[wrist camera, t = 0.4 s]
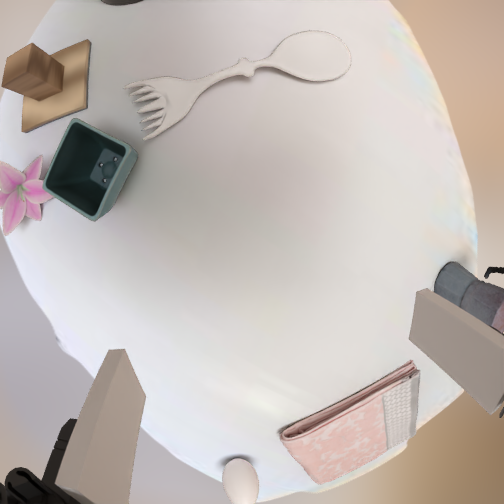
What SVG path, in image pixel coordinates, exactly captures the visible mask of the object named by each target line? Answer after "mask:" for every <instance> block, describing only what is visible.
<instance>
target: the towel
mask: <svg viewBox="0 0 504 504" xmlns="http://www.w3.org/2000/svg"><path fill="white" fill-rule="evenodd" d="M419 383H420V370H417V368H416V366H415V365H414V363H413V360H410V361H408V362H407V363H405V364H404V365H402V366H401V367H399V368H398V369H396V370H395V371H393V372H392V373H390V374H389V375H387V376H386V377H384V378H382V379H381V380H379V381H377V382H376V383H374V384H372V385H371V386H369V387H367V388H366V389H364V390H362V391H360V392H359V393H357V394H355V395H353V396H351V397H349V398H347V399H345V400H343V401H341V402H339V403H337V404H335V405H333V406H331V407H329V408H327V409H325V410H323V411H321V412H319V413H316V414H314V415H312V416H309V417H307V418H305V419H303V420H301V421H299V422H297V423H295V424H294V425H292V426H291V427H289V428H287V429H286V430H284V431H283V432H282V433H281V434H280V440H281V442H282V443H283V445H284V446H285V447H286V448H287V449H288V452H289V453H290V454H291V455H292V457H293V458H294V459H295V460H296V461H297V462H298V463H299V464H301V466H302V467H303V468H304V470H305V471H306V472H307V474H308V475H309V476H310V477H311V479H312V480H313V481H315V483H317V484H323V483H325V482H330V481H332V480H335V479H336V478H339V477H341V476H343V475H345V474H347V473H349V472H351V471H353V470H355V469H357V468H359V467H361V466H363V465H365V464H366V463H368V462H370V461H372V460H374V459H376V458H377V457H379V456H380V455H382V454H383V453H385V452H386V451H387V450H389V449H391V448H393V447H394V446H396V445H398V444H400V443H402V442H404V441H405V440H407V439H409V438H411V437H413V436H414V435H416V419H417V413H418V393H419Z"/></svg>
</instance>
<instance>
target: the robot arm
mask: <svg viewBox="0 0 504 504" xmlns="http://www.w3.org/2000/svg"><path fill="white" fill-rule="evenodd" d="M101 1H102V2H104V3H107V4H111V5H124V4H130V3H135V2H139V1H142V0H101ZM409 340H410V341H411V342H412V343H413V344H415V345H416V346H417V347H418V348H419V349H420V350H421V351H422V352H424V353H425V354H426V355H427V356H428V357H429V358H430V359H431V360H433V361H434V362H435V363H436V364H437V365H438V366H439V367H440V368H441V369H442V370H444V371H445V372H446V373H447V374H448V375H449V376H450V377H451V378H452V379H453V380H454V381H455V382H457V383H458V384H459V385H460V386H461V387H462V388H463V389H464V390H465V391H466V392H467V393H468V394H469V395H470V396H472V398H474V399H475V400H476V401H477V402H478V403H479V404H480V405H481V406H482V407H483V408H484V409H485V410H486V411H487V412H488V413H489V414H490V415H491V414H492V413H494V412H495V411H496V410H497V409H498V408H499V407H500V406H501V404H502V402H503V401H504V334H503V333H502V334H501V332H500V331H499V330H497V329H496V328H494V327H492V326H489V325H486V324H485V323H483V322H482V321H480V320H479V319H477V318H476V317H474V316H472V315H471V314H469V313H468V312H466V311H464V310H463V309H461V308H459V307H458V306H456V305H455V304H453V303H451V302H450V301H448V300H446V299H445V298H443V297H441V296H440V295H438V294H436V293H434V292H433V291H431V290H429V289H428V288H426V289H423V290H420V291H417V292H416V299H415V306H414V313H413V319H412V324H411V330H410V335H409ZM145 399H146V395H145V393H144V391H143V389H142V387H141V385H140V383H139V380H138V378H137V376H136V374H135V372H134V369H133V367H132V365H131V362H130V360H129V358H128V355H127V353H126V350H125V349H116V350H109V351H108V353H107V355H106V357H105V359H104V361H103V363H102V365H101V367H100V369H99V371H98V374H97V376H96V378H95V380H94V382H93V384H92V387H91V389H90V391H89V393H88V396H87V398H86V401H85V403H84V405H83V407H82V410H81V412H80V415H79V417H78V419H69V420H68V422H66V424H65V425H64V426H63V427H62V428H61V431H60V433H59V435H58V438H57V439H58V441H56V443H55V445H54V449H53V450H52V453H51V456H50V458H49V461H48V464H47V467H46V470H45V472H44V475H43V478H42V480H40V479H39V478H37V477H36V476H35V475H34V474H33V473H32V472H30V471H29V470H28V469H26V468H22V467H19V468H15V469H13V470H12V471H10V472H9V473H8V475H7V476H6V479H5V486H4V485H3V484H1V483H0V504H129V494H130V486H131V479H132V472H133V465H134V458H135V452H136V446H137V440H138V435H139V429H140V424H141V419H142V414H143V409H144V404H145ZM503 414H504V407H503V409H502V411H501V412H500V418H501V417H502V416H503Z"/></svg>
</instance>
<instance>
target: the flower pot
mask: <svg viewBox="0 0 504 504" xmlns="http://www.w3.org/2000/svg"><path fill="white" fill-rule="evenodd" d="M115 157H116V158H117V161H114V158H115ZM137 158H138V154H137V152H136V151H135V150H134V149H133V148H132V147H131V146H130V145H129V144H127V143H125V142H123V141H121V140H119V139H117V138H115V137H112V136H110V135H108V134H106V133H104V132H102V131H101V130H99V129H97V128H95V127H93V126H91V125H89V124H87V123H85V122H83V121H81V120H80V119H78V118H73V119H72V120H71V122H70V124H69V125H68V127H67V129H66V131H65V134H64V136H63V138H62V140H61V142H60V144H59V146H58V148H57V151H56V153H55V155H54V158H53V160H52V162H51V165H50V167H49V169H48V172H47V174H46V176H45V178H44V181H43V185H42V188H43V190H44V191H46V192H47V193H49V194H50V195H52V196H53V197H55V198H57V199H58V200H60V201H61V202H63V203H64V204H66V205H68V206H69V207H71V208H72V209H74V210H75V211H77V212H79V213H80V214H82V215H83V216H85V217H86V218H88V219H90V220H91V221H97V220H98V219H99V218H100V217H102V216H103V215H105V214H106V213H107V212H108V211H110V210H111V208H112V207H113V205H114V204H115V201H116V199H117V197H118V195H119V193H120V191H121V189H122V187H123V185H124V183H125V181H126V179H127V177H128V175H129V173H130V171H131V169H132V167H133V166H134V164H135V162H136V160H137ZM100 163H102V164H103V166H102V167H100ZM104 179H106V182H103V180H104Z"/></svg>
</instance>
